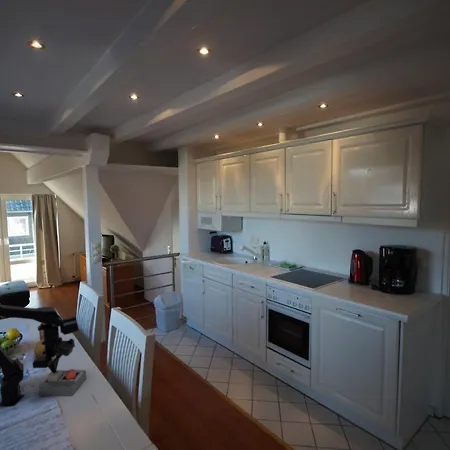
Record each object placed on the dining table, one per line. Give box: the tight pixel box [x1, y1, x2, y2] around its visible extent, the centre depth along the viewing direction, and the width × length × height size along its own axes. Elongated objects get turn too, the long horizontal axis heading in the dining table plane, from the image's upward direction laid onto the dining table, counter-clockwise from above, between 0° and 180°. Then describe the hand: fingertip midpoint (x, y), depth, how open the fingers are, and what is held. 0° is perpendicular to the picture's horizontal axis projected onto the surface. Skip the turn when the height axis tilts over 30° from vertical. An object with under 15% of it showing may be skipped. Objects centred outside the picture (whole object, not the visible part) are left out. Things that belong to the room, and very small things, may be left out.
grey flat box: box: [37, 369, 87, 397], centre depth 136 cm, size 12×14×5 cm
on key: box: [46, 369, 63, 382], centre depth 135 cm, size 4×4×5 cm
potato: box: [33, 339, 46, 358], centre depth 163 cm, size 10×14×8 cm
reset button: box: [65, 368, 76, 380], centre depth 135 cm, size 4×4×5 cm
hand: (54, 372), depth 135 cm, fingers closed
